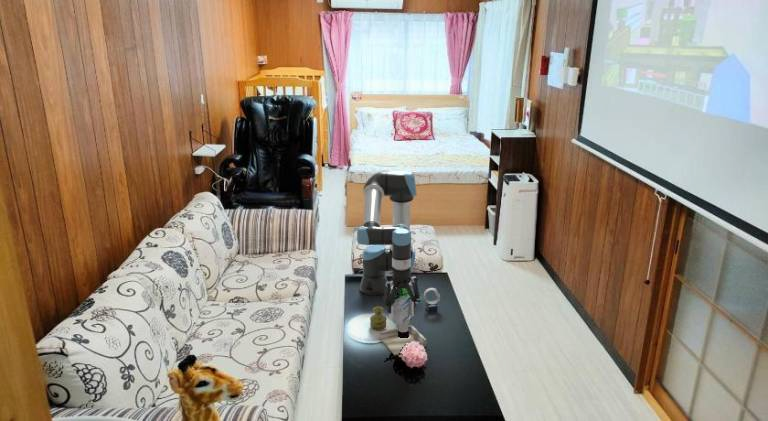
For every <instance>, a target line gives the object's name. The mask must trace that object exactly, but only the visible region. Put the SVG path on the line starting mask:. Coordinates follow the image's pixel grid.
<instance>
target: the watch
mask: <svg viewBox="0 0 768 421" xmlns="http://www.w3.org/2000/svg"><path fill="white" fill-rule="evenodd" d="M431 291H433V292H434V294H435V296H436V298H437V299H435V300H428V299H427V296H426V295H427V293H428V292H431ZM423 298H424V300H425V308H426V310H427V313H429V314H430V313H438V303H439V302H440V300H441V295H440V293H439V292H438V290H437V288H436V287H435V288H434V287H427V289H425V290H424V292H423Z"/></svg>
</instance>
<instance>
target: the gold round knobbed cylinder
mask: <svg viewBox="0 0 768 421" xmlns="http://www.w3.org/2000/svg"><path fill="white" fill-rule="evenodd" d="M384 310H385V308H384V307H382V306H379V305H378V306H374V307H373V308H372V312H374V314H373V315H371V316H370V318H369V320H370V322H369V326H370V329H371V330H373V331H380V332H381V331H385V329H386V328H387V320H388V319H387V316H386V315H384V314H383V312H384Z"/></svg>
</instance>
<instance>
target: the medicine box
mask: <svg viewBox="0 0 768 421" xmlns="http://www.w3.org/2000/svg"><path fill="white" fill-rule="evenodd" d="M410 299H411V298H410V296H409V297H408V296H405V295H400V296H399V297H398V298H397V299H396V300H394V301H393V304H392V306H393V321H392V323H396V324H400V325H404V324H405V321H406V320H407V319H408V318H409V317H410V316H411V315H410Z"/></svg>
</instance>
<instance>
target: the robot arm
mask: <svg viewBox="0 0 768 421" xmlns="http://www.w3.org/2000/svg"><path fill="white" fill-rule="evenodd" d="M362 192H363V197H364V206H363V207H364V208H363V220H362V226H359V227H358V228H357V230H356V231H357V232H356V241H357V243H358V245H363V246H367V247H365V248H364V249H363V251H362V258H361V259H362V278H361V281H360V284H359V290H360V292H361V293H362V294H364V295H367V296H382V295H383V297H382V305H384V306H385V307H386V312H387V314H388V319H389V320H390V321H391V322H393V303H394V302H395V299H396V297H397V294H398V292H399V291H400V290H403V289H405V290H406V292H407V294H408V296H409V298H410V316H411V317H414V314H415V312H414V311H415V310H414V309H415V308H416V303H417V301H418V300H419V299H420V292H419V286H418V277H416V275H411V274H412V271H413V269H414V266H415V263H416V262H415V261H416V260H415V259H416V249H415V248H413V245H412V232H411V202H413V200H414V197H416V196H417V187H416V177H415V173H414V172H412V171H405V170H403V171H379V172H377V173H374V174H373V175H371V177H369V178H368V180H367V181H366V182H365V183H364V186H363V191H362ZM383 197H389V200H390V201H391V202H392V226H381V221H382V220H381V219H382V216H381V215H382V199H383ZM386 246H389V248H387V247H386ZM386 272H389V273H390V272H392V273H391V276H392V278H391V281H388V279H387V275H386ZM410 282H411V285H412V288H411V286H410ZM412 289H413V291H412Z"/></svg>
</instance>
